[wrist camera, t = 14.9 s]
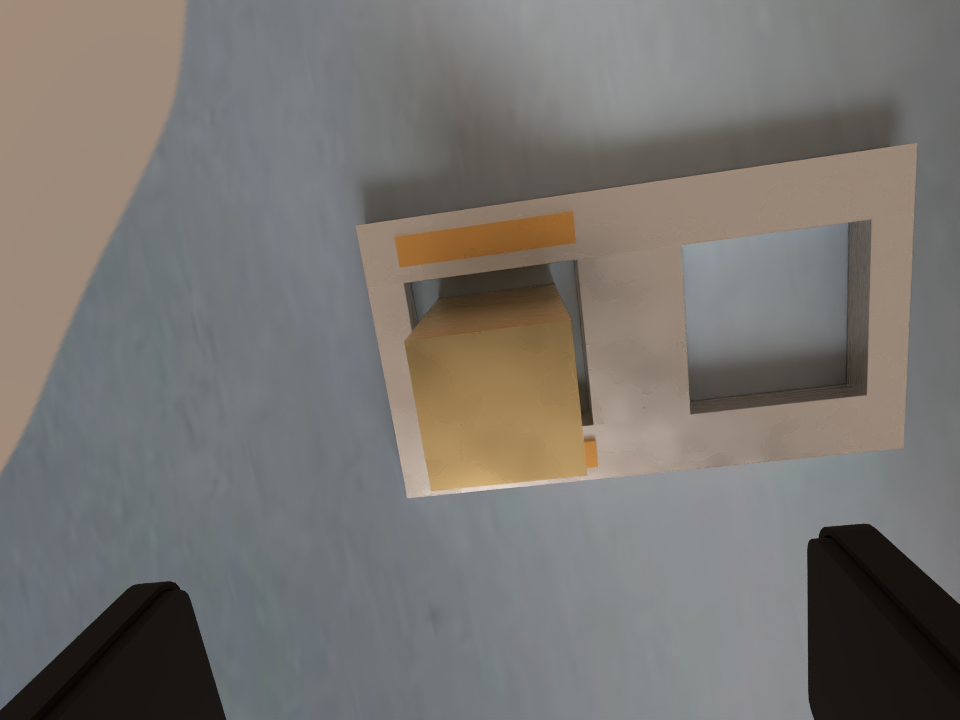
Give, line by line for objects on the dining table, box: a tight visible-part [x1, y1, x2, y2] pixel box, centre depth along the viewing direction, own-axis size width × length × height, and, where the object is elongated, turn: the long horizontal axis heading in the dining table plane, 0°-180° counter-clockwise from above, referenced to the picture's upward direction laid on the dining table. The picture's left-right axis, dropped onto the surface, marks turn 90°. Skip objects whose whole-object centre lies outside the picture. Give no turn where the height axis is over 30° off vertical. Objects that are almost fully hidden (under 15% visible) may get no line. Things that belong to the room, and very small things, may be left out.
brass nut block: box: [404, 284, 587, 491], centre depth 22 cm, size 5×5×8 cm
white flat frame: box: [356, 143, 917, 498], centre depth 24 cm, size 21×12×2 cm, turn 98°
